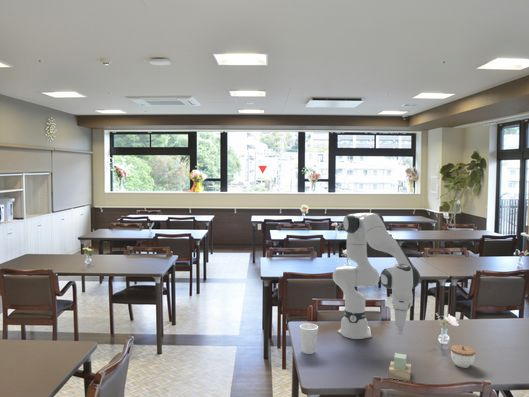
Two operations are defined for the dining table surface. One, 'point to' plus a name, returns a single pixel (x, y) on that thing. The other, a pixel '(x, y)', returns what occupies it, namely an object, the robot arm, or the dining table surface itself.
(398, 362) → the green cube
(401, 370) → the oak base
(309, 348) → the foam cup
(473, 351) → the lidded jar
